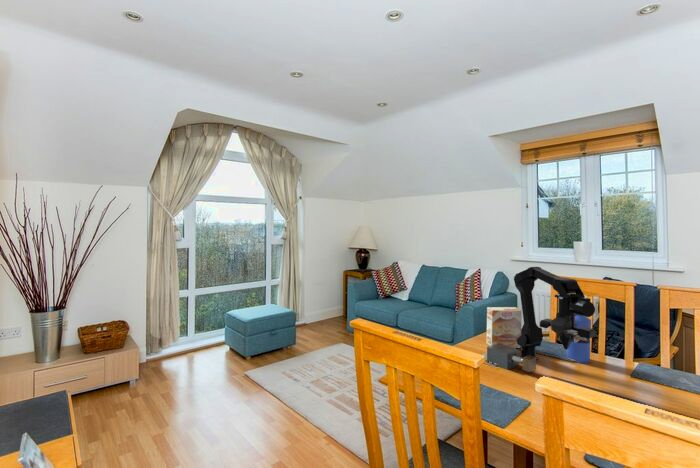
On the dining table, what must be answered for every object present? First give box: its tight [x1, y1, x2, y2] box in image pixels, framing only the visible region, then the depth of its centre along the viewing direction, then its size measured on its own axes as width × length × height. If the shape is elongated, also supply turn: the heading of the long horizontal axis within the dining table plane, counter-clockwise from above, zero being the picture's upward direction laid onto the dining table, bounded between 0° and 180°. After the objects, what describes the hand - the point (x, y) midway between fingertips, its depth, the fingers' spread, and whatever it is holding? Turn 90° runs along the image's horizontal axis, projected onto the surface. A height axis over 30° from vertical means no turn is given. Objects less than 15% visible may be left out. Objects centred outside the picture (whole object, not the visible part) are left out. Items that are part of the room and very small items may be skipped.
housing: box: [486, 343, 521, 371], centre depth 156 cm, size 9×10×7 cm
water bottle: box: [566, 314, 592, 364], centre depth 160 cm, size 9×9×25 cm
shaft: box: [511, 355, 537, 373], centre depth 152 cm, size 5×18×5 cm, turn 33°
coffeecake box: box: [486, 306, 522, 348], centre depth 177 cm, size 15×7×20 cm, turn 91°
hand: (566, 349), depth 140 cm, fingers closed
